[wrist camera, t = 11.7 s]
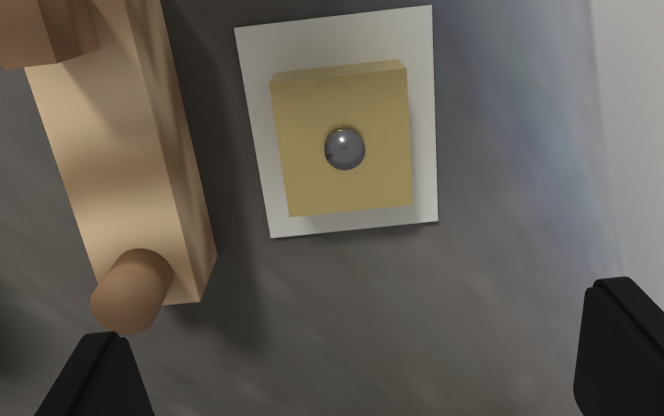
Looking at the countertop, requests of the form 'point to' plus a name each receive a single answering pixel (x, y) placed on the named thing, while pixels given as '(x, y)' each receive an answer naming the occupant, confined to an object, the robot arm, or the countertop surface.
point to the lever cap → (343, 137)
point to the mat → (333, 50)
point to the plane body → (118, 148)
